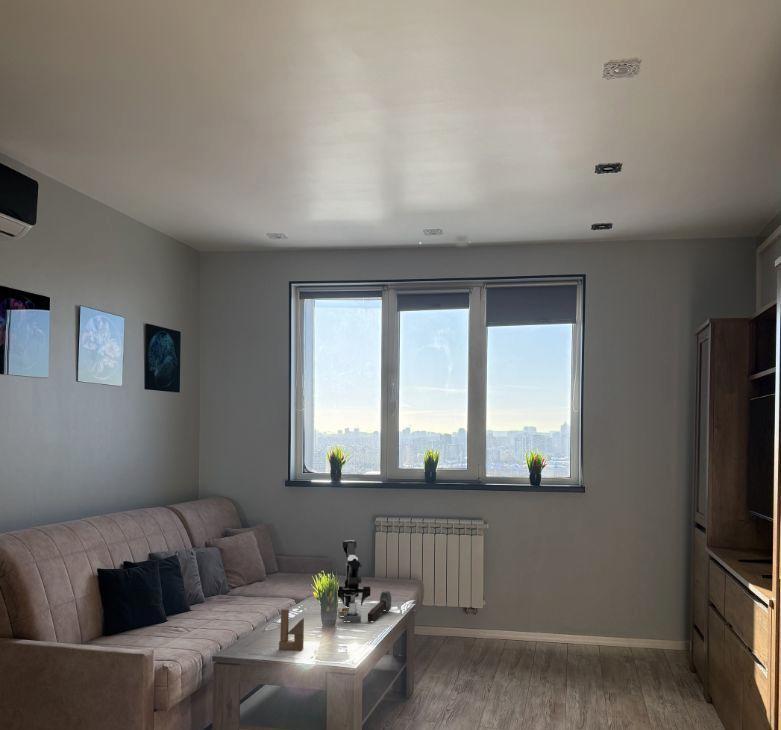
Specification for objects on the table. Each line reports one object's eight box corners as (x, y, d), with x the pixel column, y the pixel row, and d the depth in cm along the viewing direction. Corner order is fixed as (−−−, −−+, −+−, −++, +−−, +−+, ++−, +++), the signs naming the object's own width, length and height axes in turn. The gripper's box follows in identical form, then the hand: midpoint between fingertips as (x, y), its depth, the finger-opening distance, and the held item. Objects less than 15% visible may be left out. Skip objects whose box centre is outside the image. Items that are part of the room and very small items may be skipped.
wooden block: (301, 651, 363) (302, 610, 364) (278, 649, 365) (279, 609, 366) (303, 649, 366) (304, 609, 368) (281, 647, 368) (282, 607, 370)
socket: (344, 618, 426) (344, 612, 427) (360, 618, 427) (361, 612, 427) (343, 622, 417) (343, 616, 418) (360, 622, 418) (360, 616, 418)
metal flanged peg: (348, 619, 424) (349, 594, 425) (356, 619, 424) (356, 594, 425) (348, 621, 420) (348, 596, 421) (356, 621, 420) (356, 596, 421)
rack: (340, 614, 436) (340, 608, 436) (354, 614, 436) (354, 608, 436) (339, 617, 428) (339, 611, 428) (354, 617, 428) (354, 611, 428)
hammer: (374, 629, 418) (391, 609, 447) (374, 608, 418) (391, 589, 446) (366, 628, 420) (383, 609, 448) (365, 607, 419) (382, 589, 448)
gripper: (336, 570, 429) (334, 595, 417) (370, 571, 430) (370, 596, 418) (336, 583, 436) (335, 608, 424) (370, 583, 437) (370, 608, 425)
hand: (352, 604), depth 422 cm, fingers open, 9 cm apart
